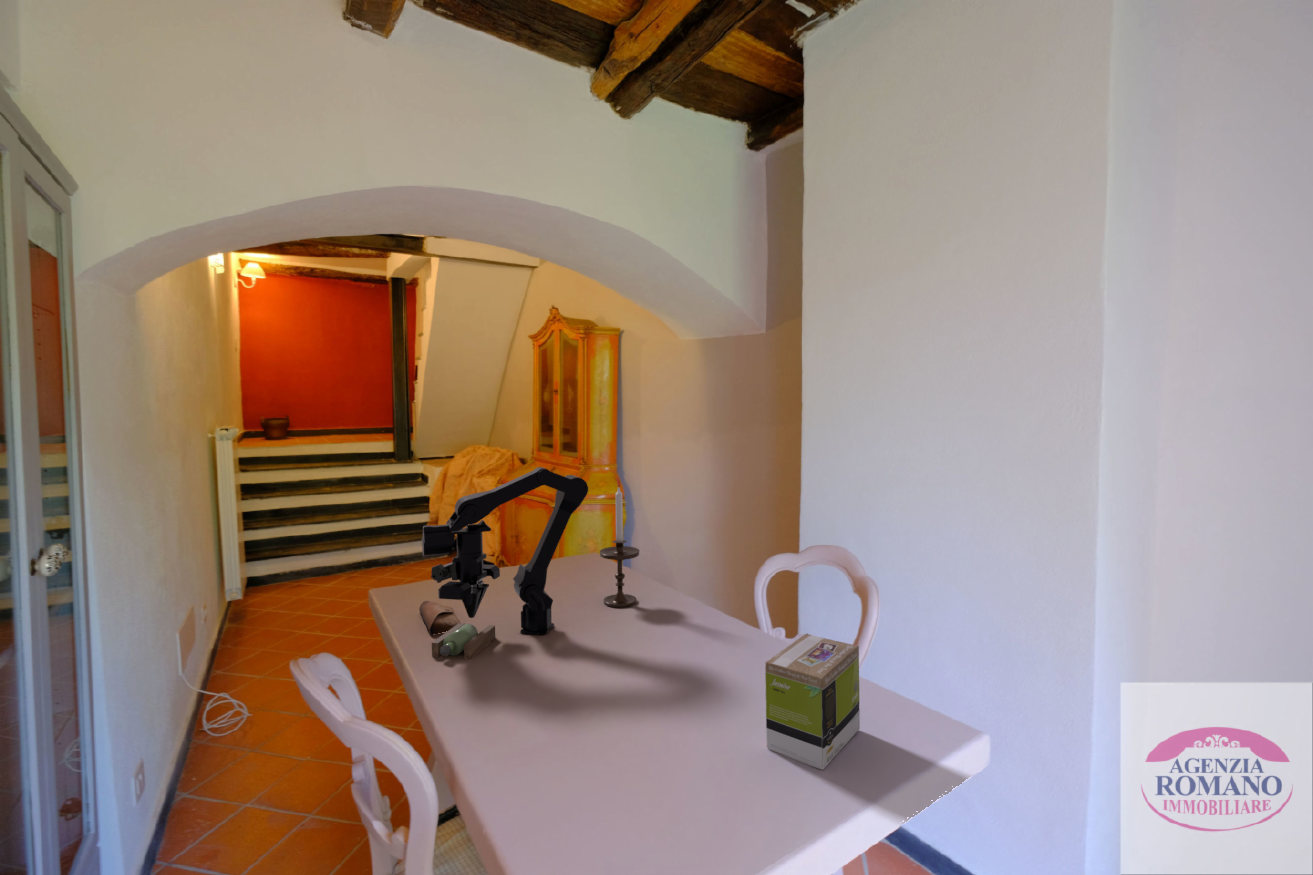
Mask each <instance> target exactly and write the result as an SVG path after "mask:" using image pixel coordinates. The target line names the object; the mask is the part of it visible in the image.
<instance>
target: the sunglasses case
mask: <svg viewBox="0 0 1313 875" xmlns="http://www.w3.org/2000/svg"><path fill="white" fill-rule="evenodd" d="M418 610H419V614H420V616H421V617H422V619H423V621H424V623H425V626H426V628H427V630H428V632H429V634H431V635H432V634H437V635H439V634H438V633H442V632H446V631H449V630H450V629H451V628H453V627H454V626H456V625H457V624H458V623H461V622H460V620H459V618H458V616H457V615H456V613H455V611H454V609H453V607H451V606H448V605H443V604H441V603H438V602H436V601H430V600H425V601H424V600H423V602H422V603H421V604H420V606H419V609H418ZM442 634H443V633H442Z"/></svg>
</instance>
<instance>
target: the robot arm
mask: <svg viewBox="0 0 1313 875" xmlns="http://www.w3.org/2000/svg"><path fill="white" fill-rule="evenodd" d="M541 486H546V487H548V488H551V489H554V490H556V493H555V500H554V507H553V510H552V511H551V514H550V517H549V519H548V521H547V523H546V526H545V528H544V530H543V532H542V535H541V537H540V539H539V541H538V544H537V546H536V548H535V550H534V553H533V554H532V557H531V560H529V562H528V563H527V564H526V565H523V564H519V566H518V570H517V573H516V575H515V576H514V577H513V578H512V580H513V582H514V583H513V589H514V592H515V593H516V595H517V596H518V597H519V599H520V600H521V601H522V602H524V604H523V605H522V610H521V611H520V628H521V629H520V631H519V632H520V634H528V635H529V634H531V635H542V636H543V635H544V636H545V635H547V634H548V633H549V632H550V631H551V629H552V628H554V627H555V623H553V622H552V618H553V617H552V605H553V603H554V599H553V598H552V597H551V596H550V595H549V594H548V593H547V592H546V591H545V588H546V584H547V577H548V575H547V574H548V569H549V565H550V564H551V561H552V559H553V557H554V554H555V552H556V550H557V547H558V545H559V543H560V541H561V538H562V536H563V534H564V531H565V529H566V527H567V525H568V523H569V520H570V518H571V516H572V515H573V513H574V512H575V511H576V510H577V509H579V507H580V506H581V504H582V503H583V501H584V499H585V498H586V497H587V495H588V492H589V486H588V483H587V482H586V480H585V479H583V478H581V477H579V476H576V475H572V474H567V475H565V476H564V475H561V474H559V473H556V472H553V471H551V470H549V469H547V468H545V467H542V466H538V467H536V468H534V470H532V471H530V472H527V473H525V474H523V475H520V476H519V477H516V478H514V479H512V480H510V481H508V482H506V483H502V484H501V485H499V486H496V487H494V488H492V489H490V490H486V491H481V492H476V493H472V494H467V495H464V496H462V497H461V498H458V500H457V501H456V503H455V505H454V512H453V513H452V514H451V516H450V517H449V518H448V520H447V521H446V523H445V524H439V525H438V524H436V525H430V524H428V525H423V526H422V538H421V548H422V552H421V553H422V557H429V556H440V555H449V554H450V552H453V550H454V549H455V543H456V555H455V557H453V558H452V559H451V562H450V563H449V562H448V563H446V564H444V565H443V564H442V563H440V564H437V565H433V566H432V567H431V571H430V572H431V574H430V578H431V579H432V580H434V581H435V582H436V583H437V584H439V583H442V582H443V581H445V580H449V579H451V580H449V581H447V582H446V583H444V584H443V585H441V586H440V587H439V588H438V591H437V594H438V599H439V600H457V601H462V603H463V606H464V609H465V611H466V614H467V616H468V618H470V619H473V618H475V617H476V614H477V612H478V610H479V607H480V605H481V603H482V600H483V599H484V596H485V594H486V592H487V590H488V588H489V587H490V584H489V583H484V582H485V581H484V580H483V579H485V578H486V577H491V579H492V580H497V579H498V578H499V577H500V576H501V571H500V567H499V566H498V565H496V564H484V560H486V559H487V553H484V552H483V551H484V548H483V547H484V546H483V545H484V543H483V539H484V538H483V533H486V532H491V531H492V528H491V527H490V526H489V525H488V524H487V523H486V522H485V520H483V519H484V518H486V517H487V516H488V515H490V514H491V513H492V512H493V511H494V510H495V509H497V508H498V507H500V506H501V505H504V504H506V503H508V502H510V501H512V500H514V499H517V498H519V497H520V496H523V495H525V494H528V493H529V492H531V491H534V490H536V489H538V488H540V487H541ZM455 535H456V540H455ZM455 541H456V542H455Z"/></svg>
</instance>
